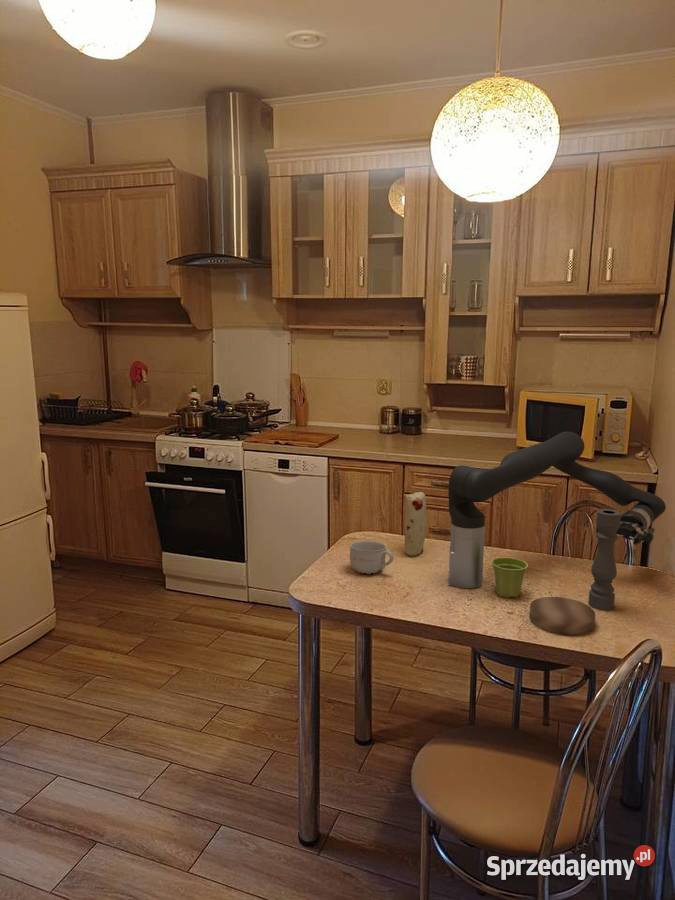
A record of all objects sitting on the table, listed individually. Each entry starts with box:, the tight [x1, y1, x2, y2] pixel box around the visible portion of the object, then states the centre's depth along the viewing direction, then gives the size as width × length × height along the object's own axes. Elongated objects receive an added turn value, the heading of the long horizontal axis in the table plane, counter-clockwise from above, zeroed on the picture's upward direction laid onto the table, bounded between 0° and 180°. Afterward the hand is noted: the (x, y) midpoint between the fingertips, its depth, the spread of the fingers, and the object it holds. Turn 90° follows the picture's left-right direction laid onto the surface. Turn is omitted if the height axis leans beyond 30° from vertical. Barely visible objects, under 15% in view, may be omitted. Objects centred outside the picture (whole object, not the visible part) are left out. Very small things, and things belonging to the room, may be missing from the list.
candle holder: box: [588, 508, 622, 611], centre depth 159 cm, size 6×6×25 cm
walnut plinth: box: [528, 596, 596, 636], centre depth 152 cm, size 15×15×3 cm
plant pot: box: [491, 556, 529, 598], centre depth 168 cm, size 9×9×9 cm
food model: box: [403, 491, 428, 557], centre depth 198 cm, size 10×7×20 cm
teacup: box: [349, 540, 394, 575], centre depth 183 cm, size 14×11×8 cm
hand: (618, 537), depth 167 cm, fingers open, 8 cm apart
